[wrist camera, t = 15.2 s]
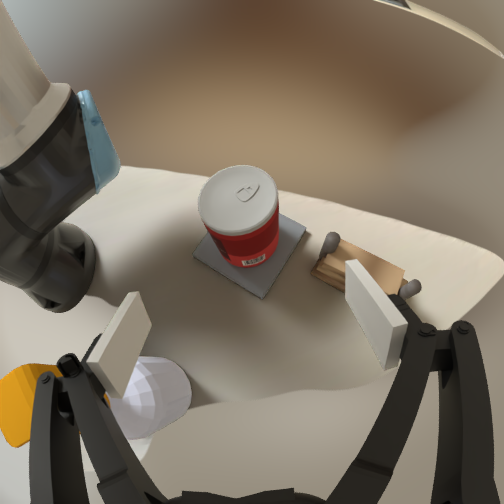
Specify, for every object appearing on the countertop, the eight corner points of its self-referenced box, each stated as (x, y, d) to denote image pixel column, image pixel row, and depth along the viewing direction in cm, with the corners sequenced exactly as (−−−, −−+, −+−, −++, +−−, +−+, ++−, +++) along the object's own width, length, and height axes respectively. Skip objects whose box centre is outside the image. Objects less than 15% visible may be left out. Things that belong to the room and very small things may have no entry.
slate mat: (193, 256, 37) (191, 254, 36) (238, 196, 40) (237, 192, 39) (262, 299, 34) (262, 298, 33) (305, 230, 37) (306, 227, 36)
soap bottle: (119, 380, 32) (-35, 378, 9) (163, 343, 33) (7, 307, 10) (158, 433, 29) (19, 493, 6) (207, 397, 30) (77, 457, 7)
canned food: (289, 231, 36) (293, 182, 26) (256, 281, 34) (246, 248, 24) (241, 205, 38) (229, 153, 28) (207, 251, 36) (181, 210, 26)
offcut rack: (309, 273, 35) (316, 253, 28) (326, 242, 36) (336, 217, 30) (389, 318, 32) (413, 309, 25) (403, 286, 33) (427, 270, 26)
